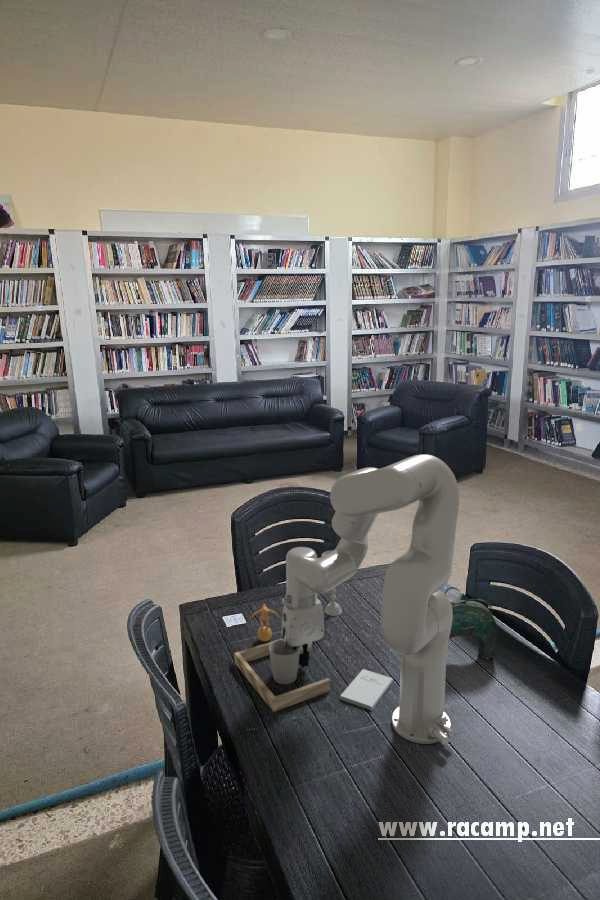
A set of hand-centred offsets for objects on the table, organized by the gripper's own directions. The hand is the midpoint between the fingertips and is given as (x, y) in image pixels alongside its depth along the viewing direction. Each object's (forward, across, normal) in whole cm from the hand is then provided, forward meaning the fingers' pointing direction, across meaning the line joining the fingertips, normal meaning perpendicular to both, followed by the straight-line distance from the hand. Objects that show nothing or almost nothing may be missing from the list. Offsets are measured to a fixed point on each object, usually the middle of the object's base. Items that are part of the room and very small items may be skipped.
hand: (302, 664), depth 156 cm
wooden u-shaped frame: (+1, -6, 0) cm, 6 cm away
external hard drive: (+2, +9, -15) cm, 18 cm away
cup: (+2, -5, 0) cm, 5 cm away
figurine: (+2, -3, +16) cm, 16 cm away
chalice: (+2, +22, +21) cm, 30 cm away
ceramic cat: (+2, +37, -15) cm, 40 cm away
